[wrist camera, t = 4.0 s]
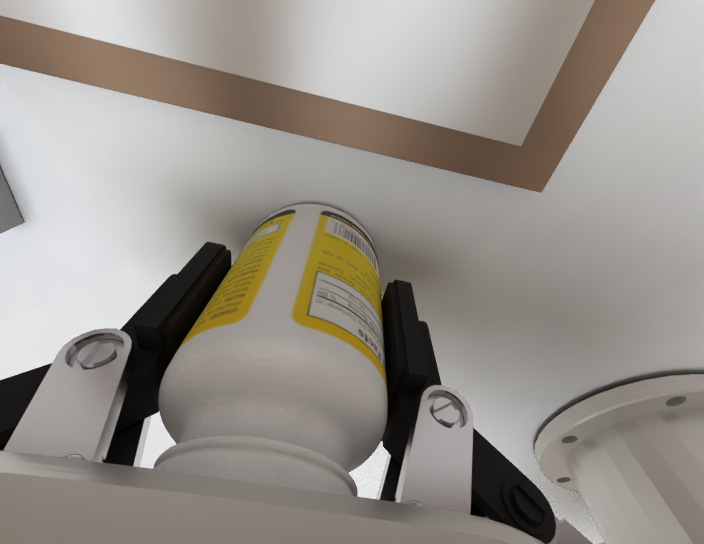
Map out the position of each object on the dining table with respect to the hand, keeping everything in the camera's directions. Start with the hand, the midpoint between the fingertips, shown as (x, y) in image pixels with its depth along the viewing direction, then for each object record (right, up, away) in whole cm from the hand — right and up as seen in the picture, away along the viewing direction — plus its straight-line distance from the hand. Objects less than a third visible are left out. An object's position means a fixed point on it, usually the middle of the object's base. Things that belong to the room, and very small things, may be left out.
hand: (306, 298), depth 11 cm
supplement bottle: (0, +2, +2) cm, 3 cm away
